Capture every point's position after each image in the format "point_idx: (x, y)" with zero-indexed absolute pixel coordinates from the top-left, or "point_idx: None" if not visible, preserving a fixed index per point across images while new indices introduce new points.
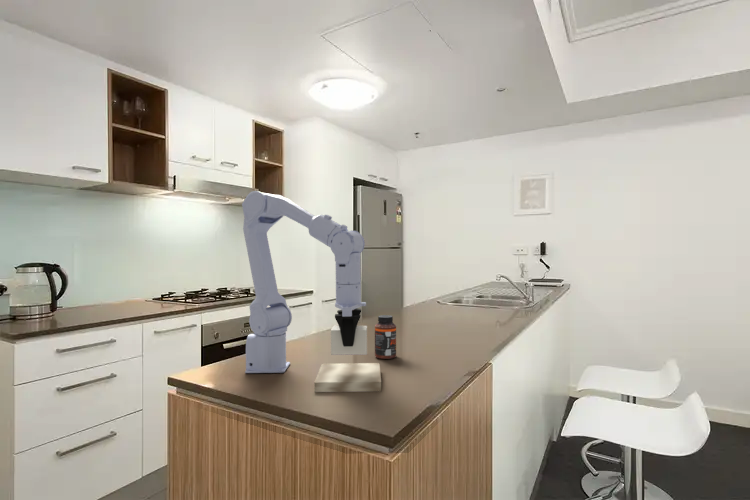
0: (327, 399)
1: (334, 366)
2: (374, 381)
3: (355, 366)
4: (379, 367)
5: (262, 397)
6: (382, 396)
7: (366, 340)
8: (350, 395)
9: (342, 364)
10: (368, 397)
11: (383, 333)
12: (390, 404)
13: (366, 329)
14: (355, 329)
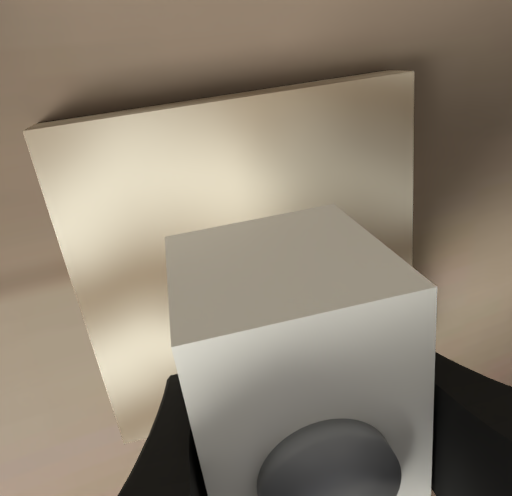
0: (466, 281)
1: (164, 373)
2: (407, 110)
3: (142, 269)
4: (137, 116)
5: None
6: (453, 55)
7: (379, 246)
8: (431, 206)
9: (117, 347)
10: (459, 122)
11: None
12: None
13: (415, 296)
14: (508, 387)
